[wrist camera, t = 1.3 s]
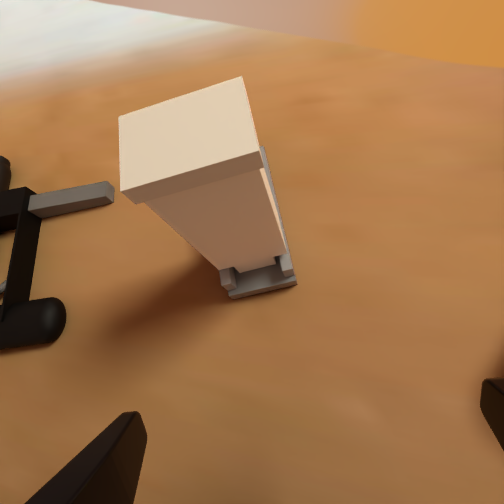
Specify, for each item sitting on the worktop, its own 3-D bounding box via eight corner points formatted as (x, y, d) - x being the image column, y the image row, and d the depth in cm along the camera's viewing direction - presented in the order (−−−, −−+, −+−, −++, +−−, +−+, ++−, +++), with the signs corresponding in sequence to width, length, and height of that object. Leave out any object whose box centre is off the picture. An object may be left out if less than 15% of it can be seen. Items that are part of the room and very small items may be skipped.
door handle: (106, 125, 31) (-40, 156, 32) (89, 335, 23) (-98, 360, 25) (124, 147, 34) (-10, 174, 35) (114, 339, 26) (-54, 361, 28)
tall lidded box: (293, 263, 22) (259, 150, 11) (224, 280, 23) (120, 191, 11) (282, 220, 24) (241, 75, 12) (217, 237, 25) (118, 116, 13)
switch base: (297, 284, 23) (294, 274, 21) (231, 299, 24) (220, 291, 21) (266, 155, 28) (260, 133, 25) (211, 171, 28) (200, 151, 26)
